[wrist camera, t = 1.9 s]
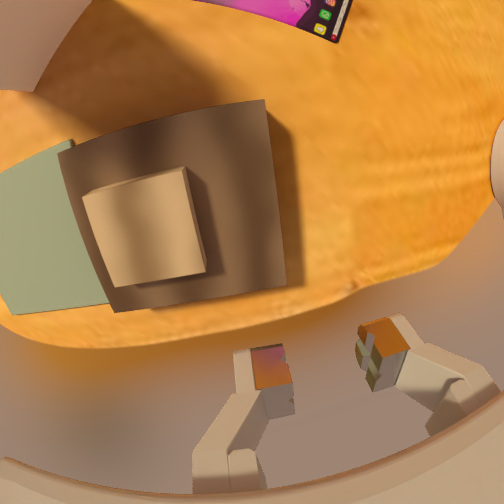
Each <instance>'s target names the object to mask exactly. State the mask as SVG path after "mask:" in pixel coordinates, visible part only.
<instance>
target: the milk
mask: <svg viewBox="0 0 504 504" xmlns="http://www.w3.org/2000/svg"><path fill="white" fill-rule="evenodd" d="M91 2H92V0H0V90H14V91H26V92H33V91H34V89H35V87H36V85H37V83H38V81H39V80H40V78H41V76H42V74H43V72H44V70H45V69H46V67H47V65H48V63H49V62H50V60H51V58H52V57H53V55H54V53H55V52H56V50H57V49H58V47H59V45H60V44H61V42H62V41H63V39H64V38H65V36H66V35H67V33H68V32H69V31H70V29H71V28H72V26H73V25H74V24H75V22H76V21H77V19H78V18H79V17H80V15H81V14H82V13H83V12H84V10H85V9H86V8H87V7H88V5H89V4H90V3H91Z"/></svg>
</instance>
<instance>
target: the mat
mask: <svg viewBox="0 0 504 504" xmlns="http://www.w3.org/2000/svg"><path fill="white" fill-rule="evenodd" d="M71 147H73V143H72V139H69V140H67V141H64V142H62V143H60V144H57V145H55V146H53V147H51V148H48V149H46V150H44V151H42V152H40V153H38V154H36V155H34V156H32V157H30V158H28V159H26V160H24V161H22V162H20V163H18V164H16V165H15V166H13V167H11V168H9V169H7V170H5V171H4V172H2V173H0V294H1V296H2V298H3V300H4V301H5V303H6V305H7V307H8V309H9V310H10V312H11V314H12V315H17V314H26V313H35V312H43V311H52V310H60V309H68V308H75V307H83V306H90V305H98V304H105V303H109V301H108V299H107V297H106V294H105V292H104V290H103V288H102V286H101V283H100V281H99V279H98V276H97V274H96V272H95V269H94V267H93V265H92V262H91V260H90V257H89V255H88V252H87V250H86V247H85V244H84V242H83V239H82V236H81V233H80V231H79V228H78V225H77V222H76V219H75V216H74V213H73V210H72V207H71V204H70V200H69V197H68V194H67V190H66V187H65V183H64V180H63V176H62V172H61V168H60V164H59V160H58V156H57V153H59V152H61V151H64V150H66V149H69V148H71Z"/></svg>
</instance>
